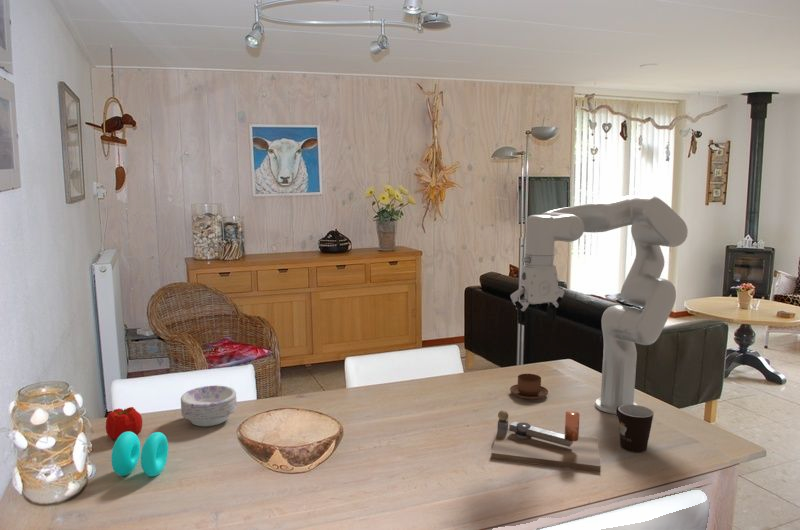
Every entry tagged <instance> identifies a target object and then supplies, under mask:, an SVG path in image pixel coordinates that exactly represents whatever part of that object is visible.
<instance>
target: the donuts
mask: <svg viewBox="0 0 800 530" xmlns="http://www.w3.org/2000/svg"><path fill="white" fill-rule="evenodd" d="M168 454H169V443H168V437H167V436H166V435H165V434H164V433H163V432H160V431H154V432H153V433H150V435H148V437H146V439H145V441H144V442H143V444H142V448H141V442H140V439H139V437H138V435H136V434H135V433H133V432H130V431H128V432H124V433H122V434H121V435H120V436H119V437H118V438H117V440H115V442H114V444H113V447H112V452H111V460H110V461H111V466H112V467H111V468H112V470H113V471H114V473H115V474H116V475H118V476H120V477H121V476H123V477H124V476H128V475H130V474H131V473H132V472H133V471H134V470H135V469H136V467H137V466H138V462H139V460H140V466H141V469H142V471H143V472H144V474H146V475H147V476H149V477H156V476H158V475H160V473H161V472H162V471H163V470H164V468H165V466H166V463H167V460H168V457H169V455H168Z"/></svg>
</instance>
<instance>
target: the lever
mask: <svg viewBox="0 0 800 530" xmlns="http://www.w3.org/2000/svg"><path fill="white" fill-rule="evenodd" d="M564 418H565V419H564V433H559V432H555V431H552V430H548V429H544V428H541V427H538V426H534V425H531V424H530V423H528V422H518V421H512V422H511V423H510V424H508V429H509V431H512V432H516V433H518V434H520V435H527V436H531V437H535V438H538V439H542V440H546V441H549V442H553V443H557V444H561V445H564V446H568V447H570V446H571V445H572V444H573V441H578V437H579V434H580V433H579V432H580V413H579V412H578V411H574V410H568V411H565V416H564Z"/></svg>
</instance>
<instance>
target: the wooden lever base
mask: <svg viewBox="0 0 800 530" xmlns="http://www.w3.org/2000/svg"><path fill="white" fill-rule="evenodd" d="M497 417H498V421H497V427H496V428H497V431H496V434H495V438H494V442H493V446H492V450H491V457H490V458H491V459H492V460H502V461H509V462H517V463H524V464H525V463H526V464H531V465H532V464H534V465H538V466H539V465H541V466H549V467H555V468H556V467H557V468H558V467H559V468H563V469H564V468H565V469H571V470H572V469H573V470H580V471H581V470H582V471H587V472H589V471H590V472H597V473H601V465H602V464H601V459H600V458H601V457H600V449H599V442H598V441H599V440H598V438H596V437H587V436H579V437H578V441H573V444H572V445H571V446H570V447H568V446H564V445H561V444H557V443H553V442H549V441H546V440H542V439H538V438H535V437H531V436H527V435H520V434H518V433H516V432H512V431H509V413H508V411H507V410H505V409H502V410H500V411H498V413H497Z"/></svg>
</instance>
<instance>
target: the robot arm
mask: <svg viewBox="0 0 800 530" xmlns="http://www.w3.org/2000/svg"><path fill="white" fill-rule="evenodd" d="M525 223H526V227H525V248H524V249H525V250H524V251H525V252H524V257H522V259H521V262H522V263H524V265H523V266H522V269H521V273H520V280H519V288H518V289H517V290H515V291H514V292H512V293H511V294H510V300H511V302H512V305H513V306H514V307H515V309H516V310H517V324H518V325H522V326H527V324H528V311H527V310H526V309H528V307H529V305H537V304H539V305H541V304H548V305H547V306H546V321H550V322H552V323H555V322H556V321H557V319H556V318H557V308H559V306H560V303H561V302H562V299H563V297H564V295H565V293H566V292H565V290H564V289H562V288H560V287H559V278H558V272H557V271H558V270H557V266H556V265H554V258H555V242H565V243H566V242H567V243H570V242H575V241H577V240H579V239H580V238H581V237H582V236H583V235H584V233H592V234H593V233H595V234H596V233H605V232H606V233H607V232H609V231H611V230H616V229H620V228H624V227H627V226H631V228H630V234H631V237H632V240H633V243H634V247H635V258H634V260H633V263H632V266H631V268H630V269H629V272H627V273H628V274H627V275H626V277H625V280H624V282H623V285H622V286H621V289H620V296H621V300H623V301H624V302H625V303H627V304H629V305H631V306H636V307H641V308H643V309H642V310H641V309H637V308H635V307H634V308H633V307H630V306H625V305H621V304H619V305H611V306H609V307H607V308H606V309H605V310H604V312H603V314H602V316H601V322H600V323H601V331H602V337H603V338H602V339H603V351H602V352H603V353H602V354H603V355H602V356H603V357H602V369H601V385H600V386H601V387H600V397H599V398H596V400H594V401H595V403H594V405H595V407H596V408H597V409H598V410H600V411H602V412H605V413H608V414H610V415H616V416H617V413H616V410H617V407H618V406H622V405H638V403H636V402H635V385H636V372H637V371H636V370H637V358H638V357H637V355H638V352H637V347H636V344H638V345H642V346H650V345H653V344H654V343H655V342H656V341H657V340H658V339H659V338H660V335H661V334H662V331H664V327H665V325H666V324H667V321H668V319H669V317H670V315H671V313H672V311H673V308H674V306H675V304H676V299H677V290H676V287H675V285H674V283H673V282H671V281H670V280H668V279H666V278H662V277H661V275H662V273H663V270H664V268H665V256H664V254H663V251H662V249H661V247H669V248H675V247H679V246H681V245H683V244H684V243H685V242H686V239H687V237H688V234H689V233H688V226H687V224H686V222H685V220H684V219H683V218H682V217H681V216H680V215H679V214H678V213H677V212H675V210H674V209H673V208H672V207H670V206H669V205H668V204H667V203H666V202H665V201H663V200H662V199H661V198H659V197H657V196H653V195H638V194H637V195H635V194H634V195H633V194H632V195H624V196H619V197H617V198H616V197H615V198H612V199H608V200H604V201H598V202H594V203H586V204H581V205H574V206H568V207H567V206H566V207H561V208H556V209H552V210H548V211H545V212H543V213H541V214H531V215H529V216H527V217H526V222H525ZM518 298H519V299H518Z"/></svg>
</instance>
